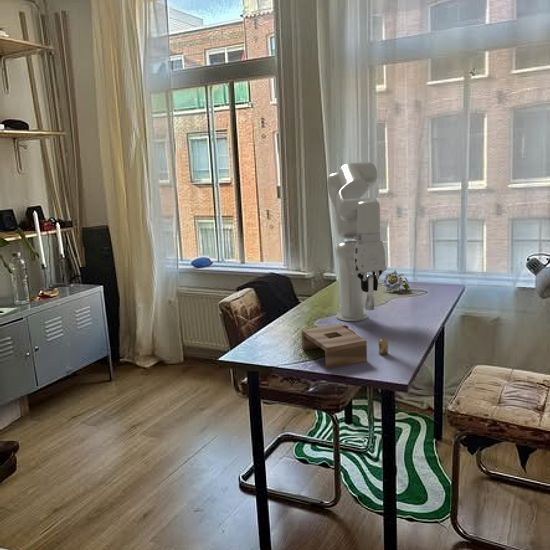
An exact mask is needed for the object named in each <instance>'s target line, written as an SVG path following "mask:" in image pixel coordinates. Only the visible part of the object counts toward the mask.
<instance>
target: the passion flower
mask: <svg viewBox="0 0 550 550" xmlns="http://www.w3.org/2000/svg"><path fill="white" fill-rule="evenodd" d="M404 276H405V274H404V273H401V274H398V271H397V270H394V271H392V272H390V273H387V274H385V277H384V281H383V282H382V283H381V284H380V286H381V287H383V286H385V287H386V291H387V292H389V291H390V293H391V294H393V293H394V292H395V290H396V291H397V292H398V291H400V287H401V286H402V287H403V288H404V289H405V291H406V292H408V293H409V290H411V288H410V285H409V284H408V282H409V281H408V279H407V277H404Z"/></svg>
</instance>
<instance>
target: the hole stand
mask: <svg viewBox="0 0 550 550" xmlns="http://www.w3.org/2000/svg"><path fill="white" fill-rule="evenodd" d="M341 325H342V324H341ZM341 325H340V324H339V323H338V324H337V323H336V324H330V325H324V326H319V327H313V328H307V329H302V330H301V346H302V347H301V349H302V351H304V350H305V351H309V350H308V349H310V350H314V349H313V348H316V349H322V350H323V351H324V357H325V359H324V360H325V369H327V370H329V369H334V368H340V367H344V366H350V365H355V364H359V363H364V362H368V355H367V354H368V349H367V348H368V345H367V340H366V339H365V338H363V337H361V336H360V335H358V334H355V333H356V332H355V333H353V332H351V331H349V330H348V329H349V328H348V329H346V328H344V327H342V326H341ZM319 347H320V348H319Z"/></svg>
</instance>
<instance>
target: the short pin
mask: <svg viewBox="0 0 550 550" xmlns="http://www.w3.org/2000/svg"><path fill="white" fill-rule="evenodd" d="M378 355H379V356H387V355H389V339H388V338H385V337H381V338H379V339H378Z"/></svg>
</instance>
